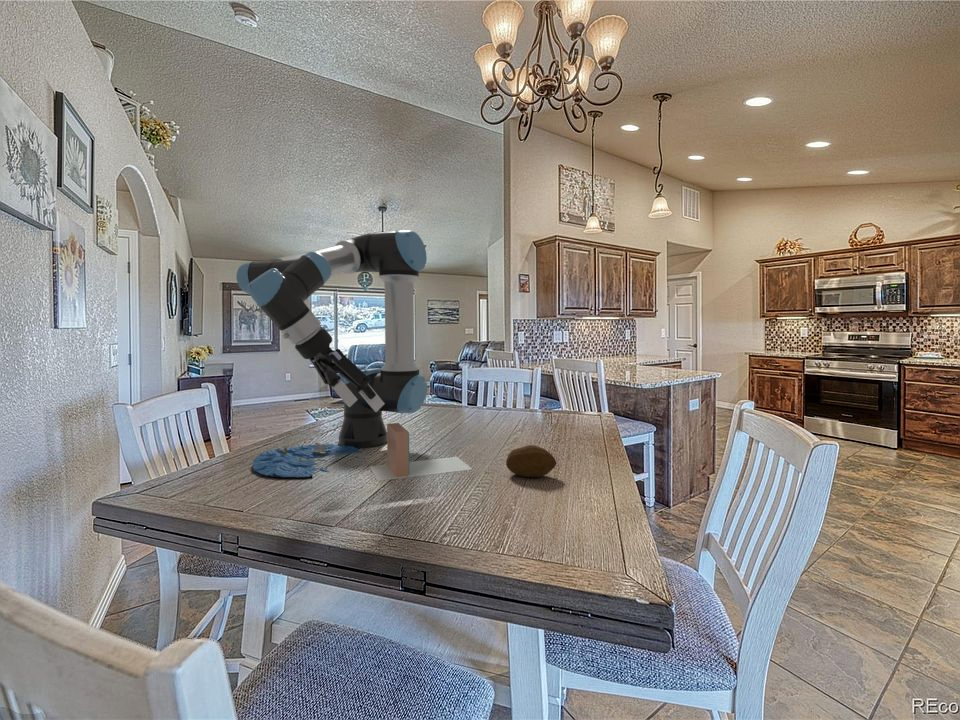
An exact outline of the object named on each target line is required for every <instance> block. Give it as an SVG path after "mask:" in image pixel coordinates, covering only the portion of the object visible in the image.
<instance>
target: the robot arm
mask: <svg viewBox="0 0 960 720" xmlns="http://www.w3.org/2000/svg"><path fill="white" fill-rule="evenodd" d="M427 258H428V257H427V250H426V247H425V244H424V242H423V240H422V238H421V236H420V235H419V234H418V233H417V232H416V231H414V230H410V229H409V230H406V229H405V230H402V229H398V230H392V231H391V230H390V231H381V232H379V231H378V232H369V233H365V234H361V235H358V236H355V237H354V236H353V237H352V238H349V239H347V238H346V239H344V240H340V241H338V242H337V243H335V245H333V246H329V247H324V248H319V249H314V250H310V251H304V252H301V253H296V254H290V255H285V256H282V257H280V256H279V257H277V258H272V259H267V260H263V261H250V262H245V263H243V264H241V265H240V266H239V267H238V268H237V270H236V271H237V272H236V278H235V279H236V282H237V285H238V286H239V288H240V289H241V291H243V292H244V293H246V294H249V296H250V297H251V298H252V300H253V301H254V302H255V304H256V305H257V306H258V307H259V308H260V309H261V310H262V312H263V313H264V314H265V315H266V316H267V317H268V318H269V319H270V320H271V322H272V323H273V324H274V325H275V327H276V328H278V330H279V331H280V332H281V333H283V335H282V338H283V339H284V340H286V339H287V340H288V341H289V342H290V344H291V345H295V346H294V349H295V350H296V351H297V352H298V353H299V355H300V356H301V357H302V358H303V359H305V360H309V361H310V362H311V364H312V365H313V367H314V369H315V370H316V372H317V374H318V375H319V376H320V378H321V380H322V381H323V383H324V384H325V385H328V386H329V387H331V389H333V391H334V392H335V393H336V394H337V395H338V396H339V398H341V400H342V401H343V421H342V425H341V428H340V429H339V434H338V445H345V446H352V447H353V446H354V448H356V449H359V448H372V447H378V446H381V445H384V444H387V427H386V426H385V423H384V420H383V412H386V413H387V412H389V413H399V414H414V413H416V412H418V411H420V410H421V408H422V407H423V405H424V403H425V401H426V397H427V393H428V382H427V381H426V377H425V376H423V375H422V374H420V367H419V366H418V365H417V364H416V363H415V299H414V298H415V297H414V296H415V293H414V292H415V288H414V286H415V285H414V284H415V282H416V281H418V279H419V277H420V276H419V274H420V271H422V270H425V269H424V268H425V267H426V264H427ZM342 273H343V274H349V275H351V274H354V273H378V276H379V277H378V278H379V279H380V280H381V281H383V283H384V344H385V347H384V348H385V350H384V351H385V357H384V358H385V363H384V364H383V365H382V367H381V368H380V367H379V368H366V369H360V368H359V367H358V366H357V365H355V363H353V362H352V361H351V360H350V359H349V358H348V357H347V356H346V355H345V354H344V353H343V352H342V351H341V349H339V348H336V349H335V350H333V349H332V348H331V347H330V344H332V342H333V336H332V335H331V334H330V333H329V332H328V331H327V329H326V328H325V327H323V326H321V322H320V320H319V318H317V317H316V315H315V314H314V312H312V309H310V308H309V307H308V305H307V304H306V303H305V301H306V300H307V299H308V298H309V297H311V296H312V295H313V294H314V293H315V292H317V291H318V290H319V289H321V287H324V285H325V284H326V282H327V281H329V279H330V278H331V276H335V275H339V274H342ZM338 374H339V375H338ZM342 377H343V380H342V379H341V378H342Z"/></svg>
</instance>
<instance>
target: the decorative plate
mask: <svg viewBox="0 0 960 720" xmlns="http://www.w3.org/2000/svg"><path fill="white" fill-rule="evenodd" d="M358 449H359V448H354V446H353V447H352V446H345V445H340V444H334V443H332V444H331V443H326V444H325V443H324V444H321V443H319V442H315V444H308V445H300V446H291V447H284V446H281V445H280V446H277V449H270V450H267V451H266V452H261V453H260V454H259V455H258V456H255V458H254V459H253V460H252V468H253V471H254V472H256V473H259V474H261V475H264V476H268V477H269V476H270V477H278V478H286V479H287V478H310V477H312V476H313V474H315V475H316V474H317V473H316V472H315V471H320V472H323V473H330V470H328V469H327V467H325V469H324V466H322V467H320V466H319V465H320V464H322V463H320V462H327V459H326V460H325V459H321V458H323V457H329V456H331V457H332V456H340V455H341V456H342V455H352V454H360V453H363V451H361V452H360V451H359V450H358ZM357 458H359V456H356V459H357ZM315 461H319V462H315ZM319 467H320V468H319Z"/></svg>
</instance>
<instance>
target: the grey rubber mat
mask: <svg viewBox="0 0 960 720" xmlns="http://www.w3.org/2000/svg"><path fill="white" fill-rule="evenodd" d="M369 468H370V471H371V472H372V474H373V475H374V477H375V478H376V480H377V482H382V481H389V480H399V479H406V478H414V477H421V476H430V475H437V474H446V473H454V472H462V471H469V470H473V468H472V467H470V466H469V465H468V464H467V463H465V461H463V460H462V459H460V458H459V457H458V456H452V457H442V458H432V459H426V460H425V459H423V460H416V461H409V474H408V476H402V477H395V475H394V474H393V472H392V471H391V470H390V468H389V467H388V466H387V464H378V465H370V466H369Z"/></svg>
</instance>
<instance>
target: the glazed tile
mask: <svg viewBox="0 0 960 720" xmlns="http://www.w3.org/2000/svg"><path fill="white" fill-rule="evenodd" d="M386 431H387V442H386V445H387V446H386V447H387V448H386V449H387V450H386V451H387V453H386V454H387V456H386V457H387V462H386V463H387V466H388V467H389V468H390V470H391V471H392V472H393V474H394V475H395V477H402V476H408V474H409V462H410V432H409V431H408V430H407V429H406V428H405V427H403V425H401V424H400V423H399V422H397V423H395V422H394V423H393V422H392V423H386Z"/></svg>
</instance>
